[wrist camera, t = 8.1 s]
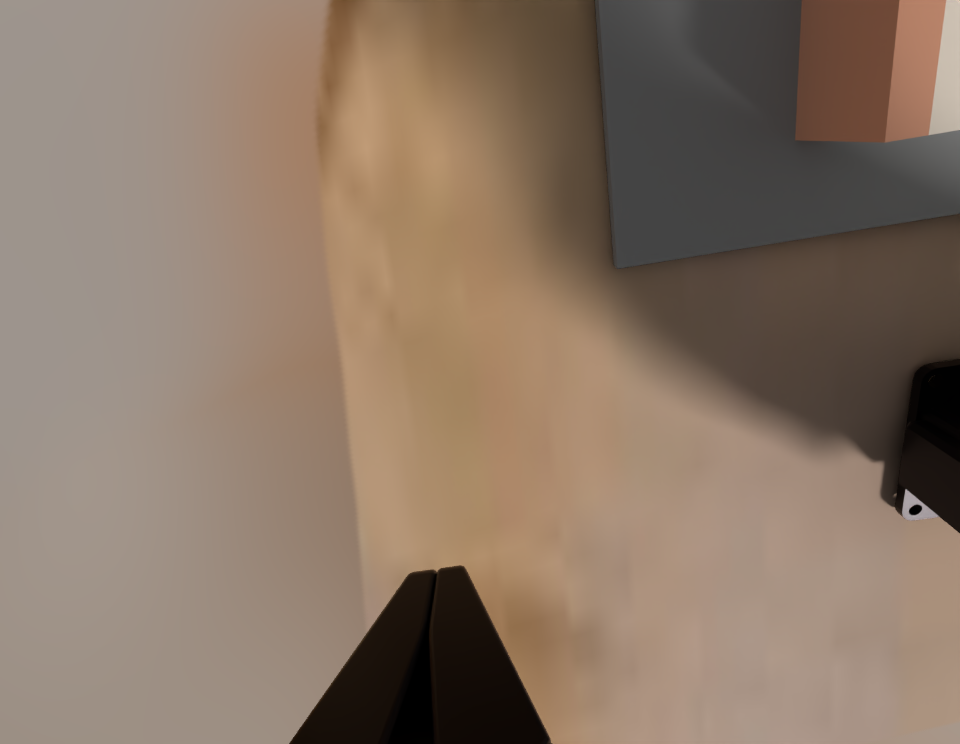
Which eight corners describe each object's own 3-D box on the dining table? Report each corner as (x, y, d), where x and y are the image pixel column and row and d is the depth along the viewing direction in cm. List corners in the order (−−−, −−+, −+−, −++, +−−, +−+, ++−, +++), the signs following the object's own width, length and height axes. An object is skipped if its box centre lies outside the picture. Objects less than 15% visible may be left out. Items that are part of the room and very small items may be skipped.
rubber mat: (1108, -258, 14) (1129, -271, 14) (1019, 200, 18) (1033, 201, 18) (583, -155, 15) (587, -165, 14) (613, 265, 19) (617, 269, 19)
